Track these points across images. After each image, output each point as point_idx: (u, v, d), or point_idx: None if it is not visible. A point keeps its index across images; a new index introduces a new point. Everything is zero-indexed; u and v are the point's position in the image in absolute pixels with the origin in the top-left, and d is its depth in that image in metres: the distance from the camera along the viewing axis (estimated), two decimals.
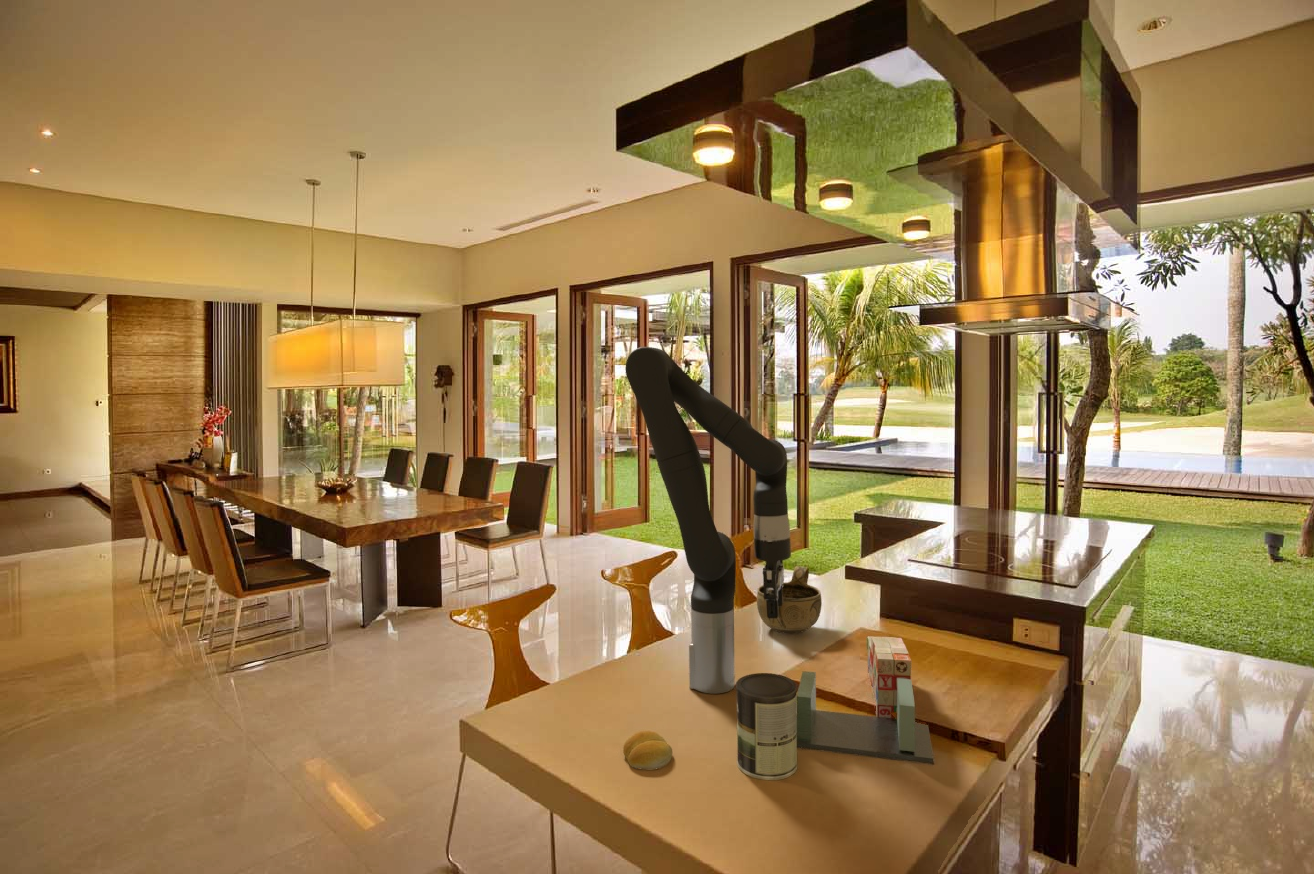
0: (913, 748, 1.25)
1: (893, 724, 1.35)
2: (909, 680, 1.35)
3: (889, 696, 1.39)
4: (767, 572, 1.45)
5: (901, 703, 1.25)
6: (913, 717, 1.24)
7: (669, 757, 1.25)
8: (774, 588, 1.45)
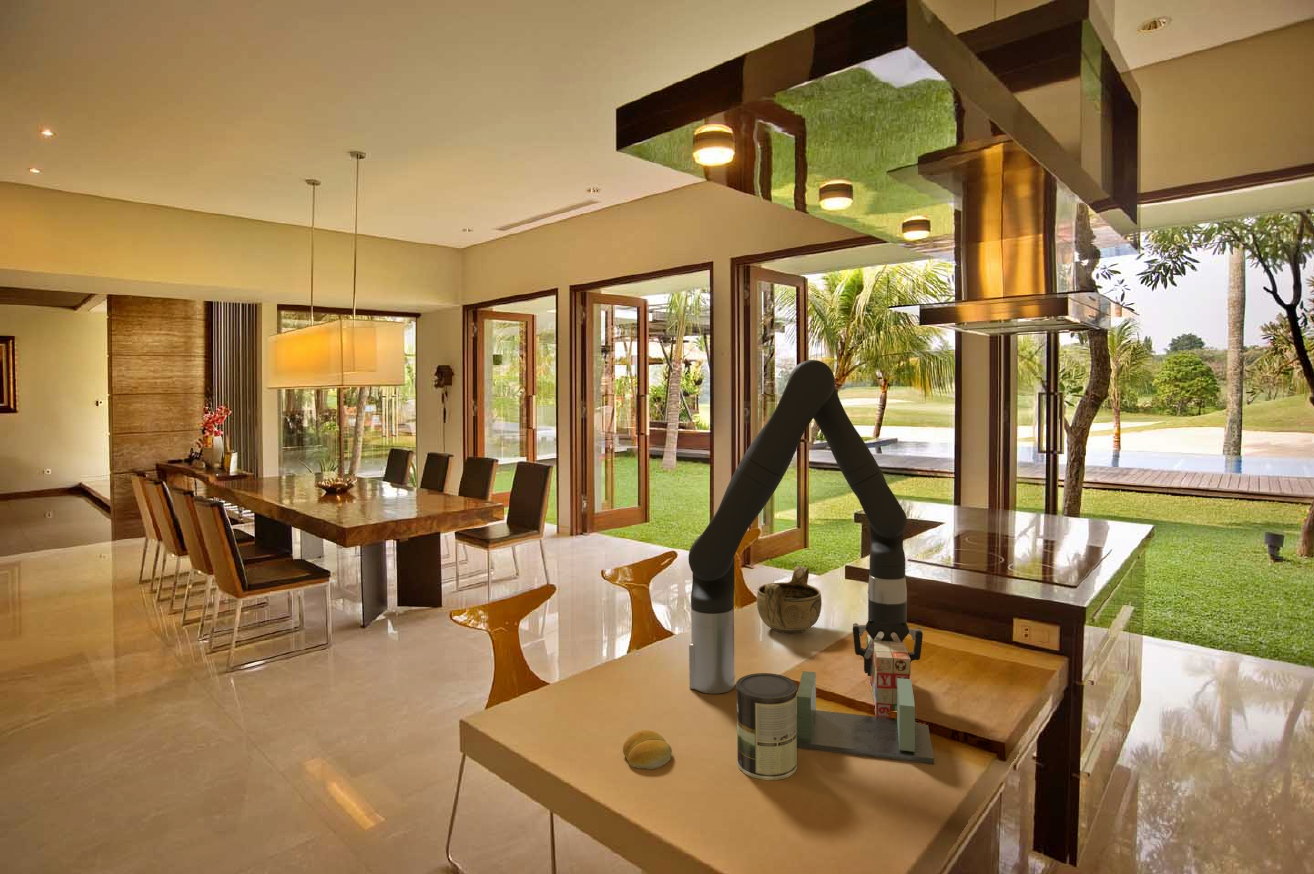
0: (913, 748, 1.25)
1: (893, 724, 1.35)
2: (909, 680, 1.35)
3: (888, 695, 1.40)
4: None
5: (901, 703, 1.25)
6: (913, 717, 1.24)
7: (669, 756, 1.25)
8: None
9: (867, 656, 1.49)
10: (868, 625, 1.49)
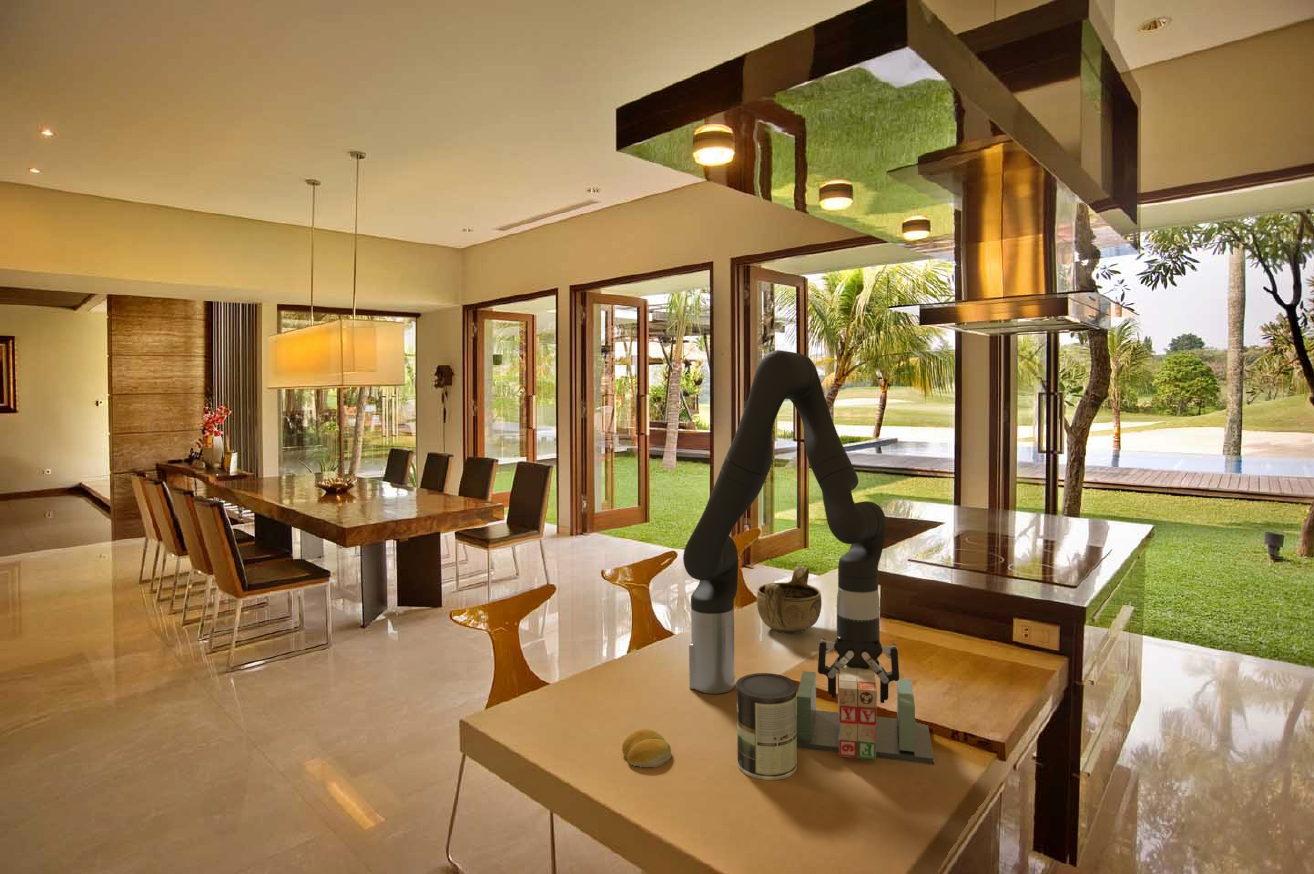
0: (913, 748, 1.25)
1: (893, 724, 1.35)
2: (909, 680, 1.35)
3: (852, 731, 1.23)
4: (896, 648, 1.30)
5: (901, 703, 1.25)
6: (913, 717, 1.24)
7: (668, 755, 1.25)
8: None
9: (831, 675, 1.32)
10: (837, 643, 1.32)
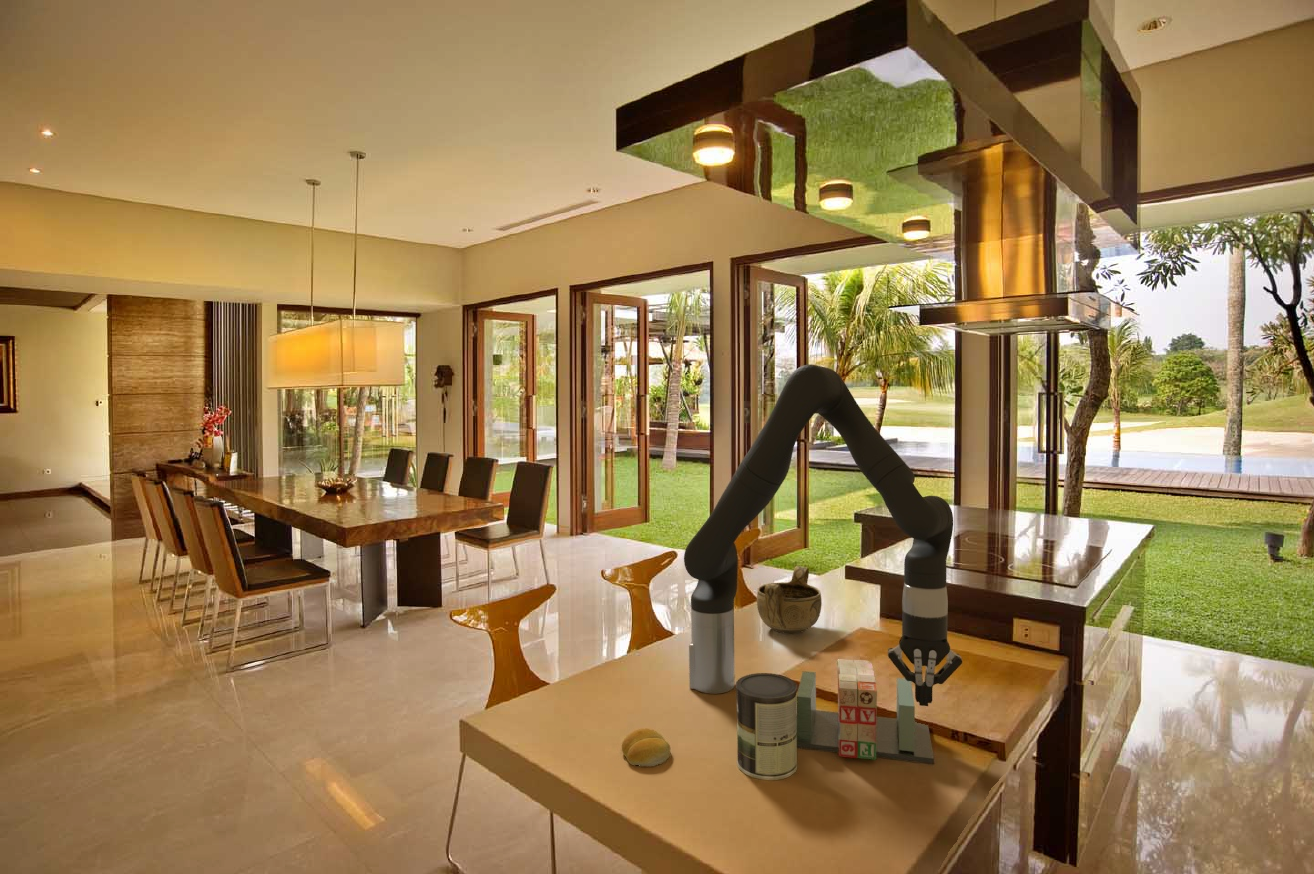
0: (913, 748, 1.25)
1: (893, 724, 1.35)
2: None
3: (852, 731, 1.23)
4: None
5: (901, 703, 1.25)
6: (913, 717, 1.24)
7: (667, 754, 1.26)
8: None
9: (920, 682, 1.28)
10: (901, 644, 1.29)
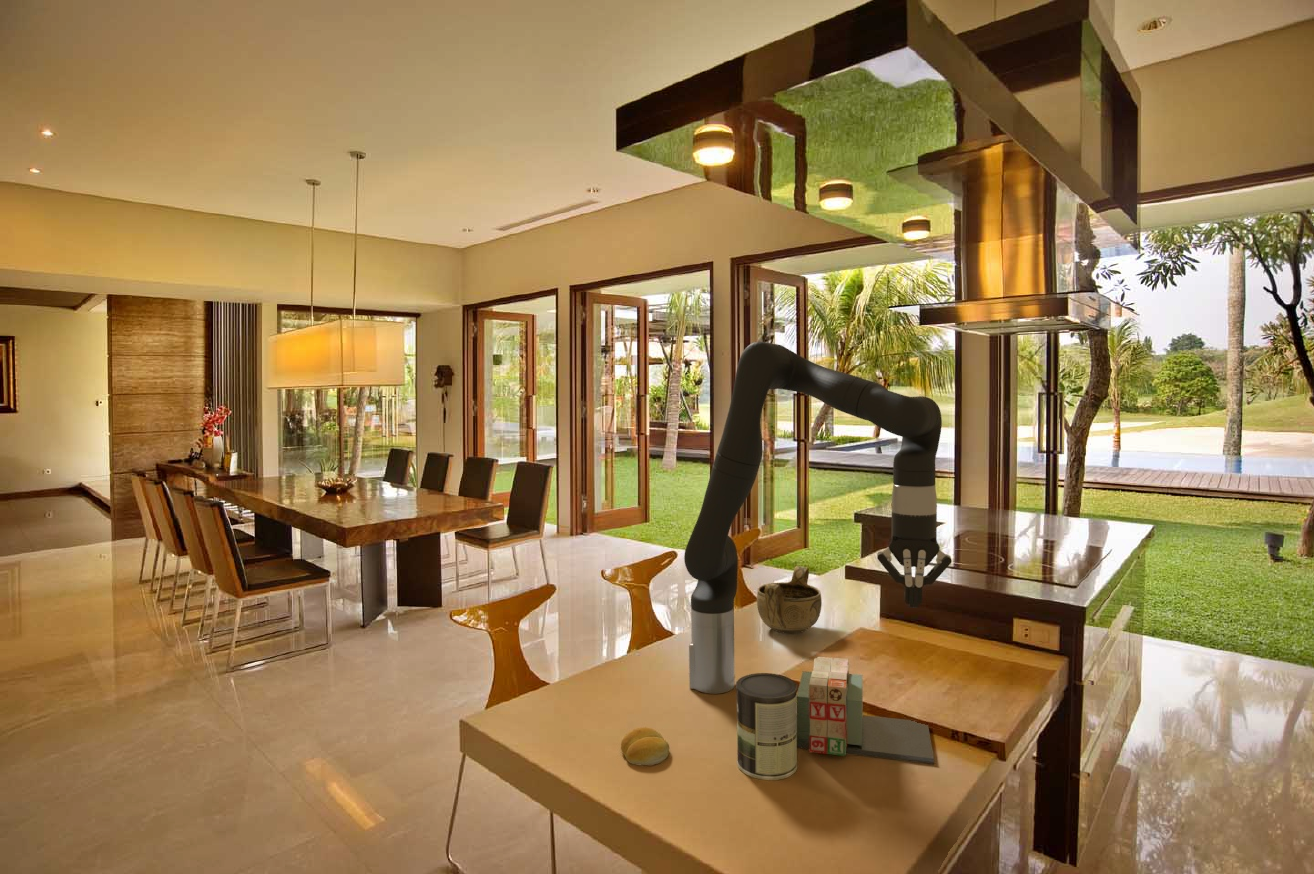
0: (860, 742, 1.27)
1: (893, 724, 1.35)
2: (860, 676, 1.37)
3: (822, 727, 1.25)
4: None
5: (849, 698, 1.28)
6: (860, 711, 1.27)
7: (666, 753, 1.26)
8: None
9: (909, 583, 1.27)
10: (890, 545, 1.28)
